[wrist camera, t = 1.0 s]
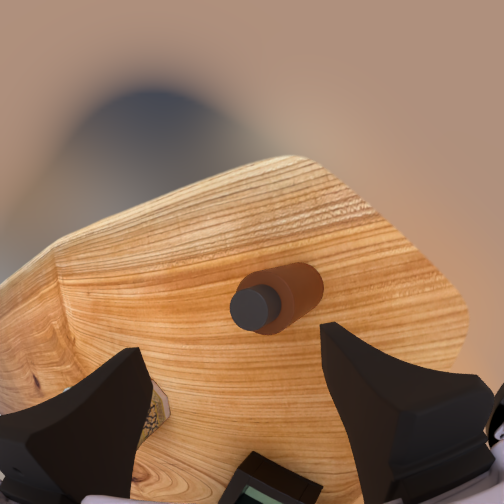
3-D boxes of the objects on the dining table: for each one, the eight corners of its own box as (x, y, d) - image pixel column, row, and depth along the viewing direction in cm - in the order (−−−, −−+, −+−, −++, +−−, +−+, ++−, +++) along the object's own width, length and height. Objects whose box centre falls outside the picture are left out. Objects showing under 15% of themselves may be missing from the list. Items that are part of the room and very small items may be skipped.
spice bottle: (332, 278, 24) (295, 299, 16) (308, 320, 25) (261, 358, 17) (290, 253, 26) (234, 261, 18) (268, 295, 27) (207, 318, 19)
